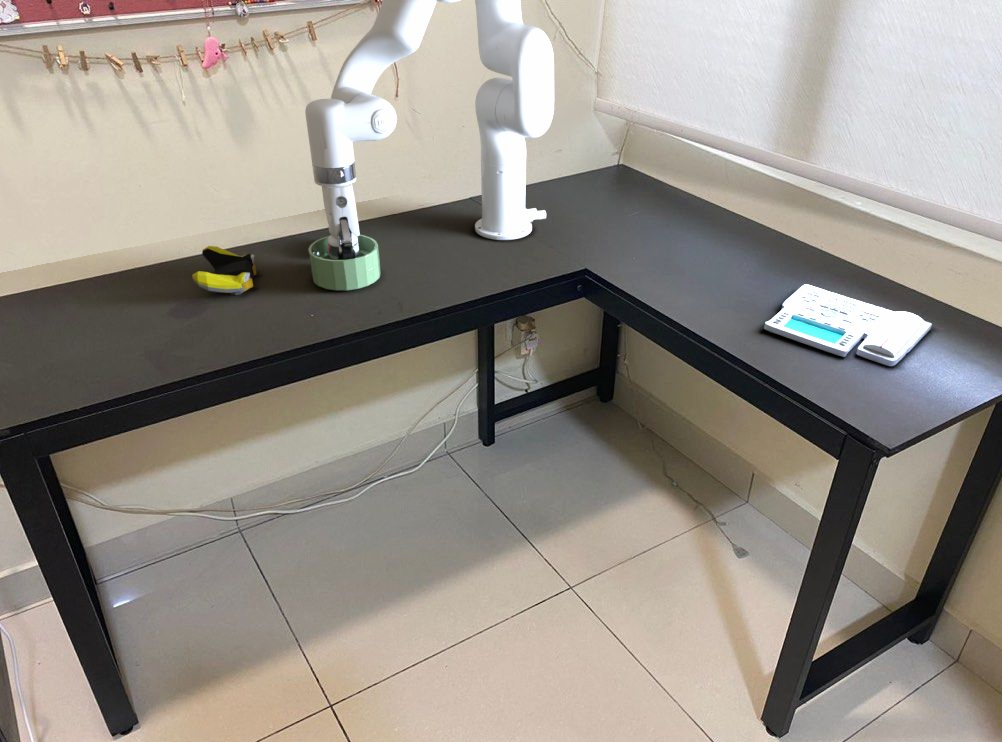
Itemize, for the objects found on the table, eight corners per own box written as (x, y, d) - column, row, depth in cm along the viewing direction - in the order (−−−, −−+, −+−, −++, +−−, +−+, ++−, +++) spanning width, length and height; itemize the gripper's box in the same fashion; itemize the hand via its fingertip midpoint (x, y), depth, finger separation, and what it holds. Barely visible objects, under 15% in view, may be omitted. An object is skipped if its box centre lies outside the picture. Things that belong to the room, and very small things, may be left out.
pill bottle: (325, 273, 156) (319, 225, 150) (349, 264, 159) (343, 216, 153) (343, 282, 152) (337, 233, 147) (367, 273, 156) (362, 224, 150)
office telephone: (935, 316, 139) (896, 361, 126) (930, 329, 140) (892, 375, 127) (806, 277, 151) (759, 314, 138) (803, 289, 152) (757, 328, 140)
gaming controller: (195, 303, 147) (251, 300, 148) (188, 276, 144) (245, 272, 145) (208, 269, 159) (259, 266, 160) (202, 243, 156) (254, 240, 157)
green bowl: (373, 260, 163) (370, 230, 159) (386, 287, 153) (383, 255, 149) (309, 269, 159) (304, 238, 156) (318, 297, 149) (313, 264, 146)
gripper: (363, 185, 139) (373, 280, 149) (347, 156, 152) (356, 245, 162) (320, 189, 137) (333, 285, 147) (307, 160, 150) (319, 250, 160)
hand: (345, 263), depth 154 cm, fingers closed on pill bottle, 5 cm apart
